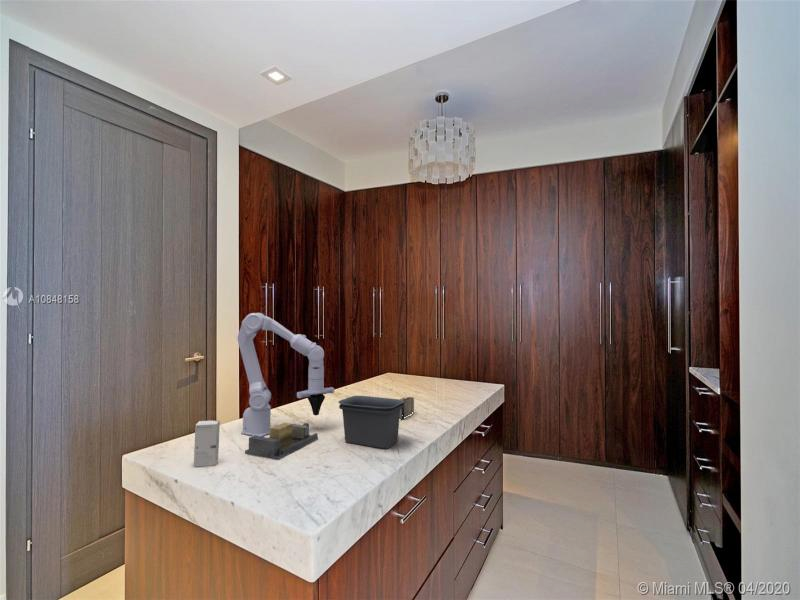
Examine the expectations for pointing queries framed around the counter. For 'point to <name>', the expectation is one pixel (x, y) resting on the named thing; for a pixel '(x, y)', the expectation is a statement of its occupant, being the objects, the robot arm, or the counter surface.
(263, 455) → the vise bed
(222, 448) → the counter surface
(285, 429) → the brass block
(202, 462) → the skincare box
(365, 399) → the storage bin
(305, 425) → the free jaw
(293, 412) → the counter surface
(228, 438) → the counter surface
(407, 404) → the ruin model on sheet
